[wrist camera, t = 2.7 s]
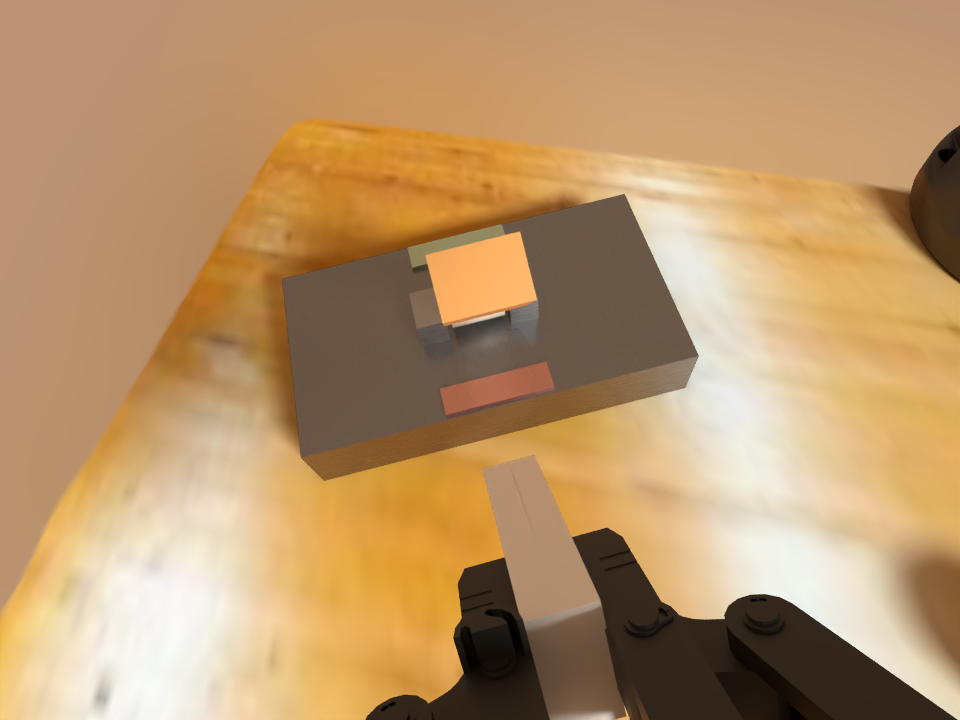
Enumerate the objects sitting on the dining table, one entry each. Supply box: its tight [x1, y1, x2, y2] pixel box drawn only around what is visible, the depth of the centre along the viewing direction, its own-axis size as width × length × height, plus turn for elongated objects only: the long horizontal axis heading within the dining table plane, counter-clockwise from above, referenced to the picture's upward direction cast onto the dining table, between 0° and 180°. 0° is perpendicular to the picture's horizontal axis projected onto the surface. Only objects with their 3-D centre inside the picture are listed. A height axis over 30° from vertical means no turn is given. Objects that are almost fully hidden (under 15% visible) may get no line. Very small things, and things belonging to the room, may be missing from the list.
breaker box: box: [282, 194, 699, 481], centre depth 39 cm, size 22×12×6 cm, turn 103°
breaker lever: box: [425, 232, 537, 328], centre depth 31 cm, size 4×3×14 cm
